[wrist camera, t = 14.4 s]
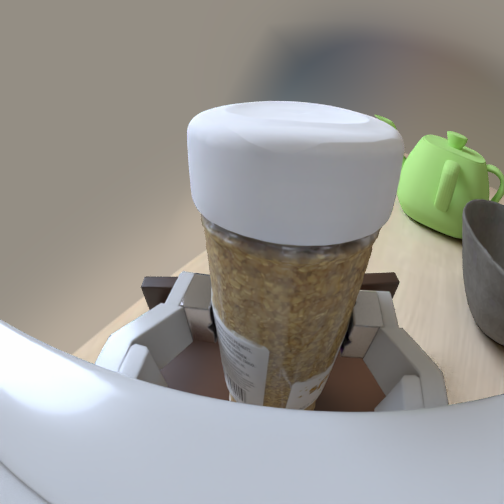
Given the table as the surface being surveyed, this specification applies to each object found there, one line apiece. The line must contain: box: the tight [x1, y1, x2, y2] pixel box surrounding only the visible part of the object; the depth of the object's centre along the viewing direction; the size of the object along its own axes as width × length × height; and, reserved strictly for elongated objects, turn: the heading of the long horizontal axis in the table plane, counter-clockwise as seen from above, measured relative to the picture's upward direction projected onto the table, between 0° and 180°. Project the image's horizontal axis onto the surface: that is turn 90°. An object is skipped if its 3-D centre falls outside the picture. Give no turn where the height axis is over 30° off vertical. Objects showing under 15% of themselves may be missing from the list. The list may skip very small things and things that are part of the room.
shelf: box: [141, 272, 399, 412], centre depth 14 cm, size 16×12×8 cm
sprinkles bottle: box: [187, 101, 404, 411], centre depth 9 cm, size 5×5×13 cm
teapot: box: [375, 115, 504, 239], centre depth 35 cm, size 19×20×14 cm
